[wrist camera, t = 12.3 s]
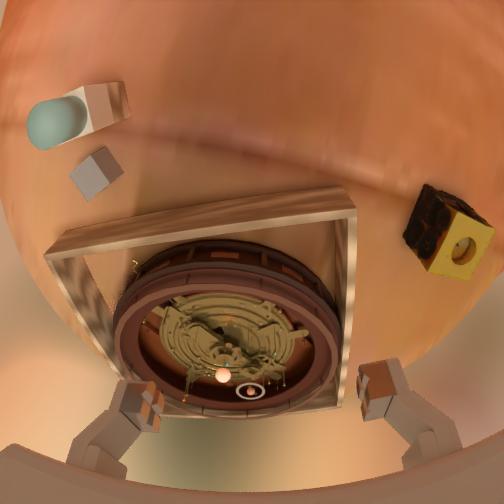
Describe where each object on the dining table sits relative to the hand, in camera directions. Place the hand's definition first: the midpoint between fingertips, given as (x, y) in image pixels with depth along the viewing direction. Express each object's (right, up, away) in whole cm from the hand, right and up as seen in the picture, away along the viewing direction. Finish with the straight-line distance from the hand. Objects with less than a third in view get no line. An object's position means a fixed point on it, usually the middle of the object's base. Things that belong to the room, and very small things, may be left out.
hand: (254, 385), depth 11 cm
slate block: (-22, +18, +30) cm, 41 cm away
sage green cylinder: (-20, +20, +15) cm, 32 cm away
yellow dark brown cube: (+30, +11, +33) cm, 46 cm away
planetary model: (-6, -10, +47) cm, 49 cm away
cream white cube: (-20, +23, +20) cm, 36 cm away
